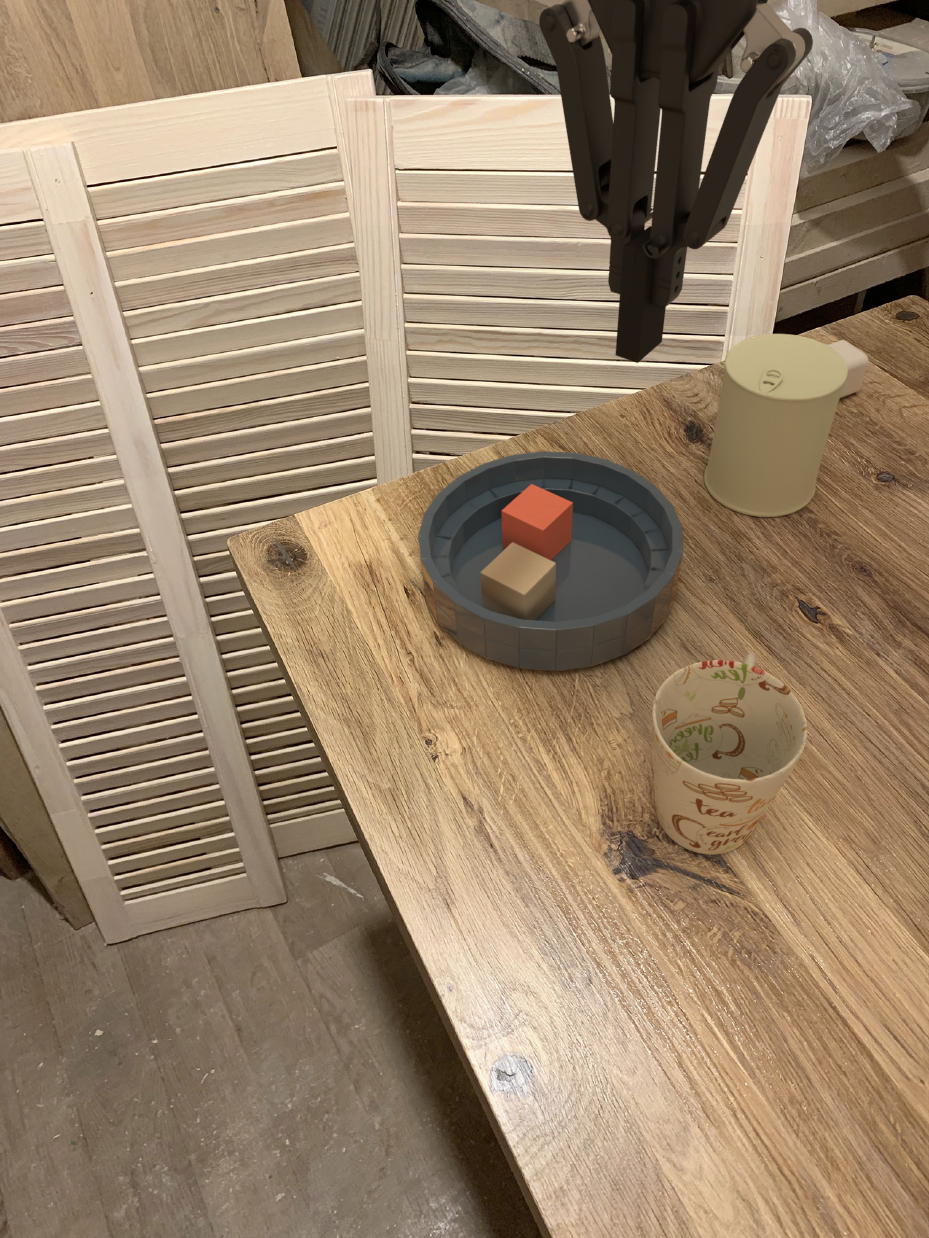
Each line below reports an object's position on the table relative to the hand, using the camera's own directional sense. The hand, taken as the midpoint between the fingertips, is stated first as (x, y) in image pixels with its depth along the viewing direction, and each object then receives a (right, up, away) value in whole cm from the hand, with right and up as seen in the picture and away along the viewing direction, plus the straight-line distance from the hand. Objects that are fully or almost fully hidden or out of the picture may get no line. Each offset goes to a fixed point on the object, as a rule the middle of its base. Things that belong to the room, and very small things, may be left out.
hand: (638, 348), depth 54 cm
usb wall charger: (+23, +5, +34) cm, 42 cm away
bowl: (-4, -13, +19) cm, 23 cm away
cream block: (-6, -15, +17) cm, 23 cm away
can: (+15, -4, +26) cm, 30 cm away
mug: (+6, -27, +6) cm, 28 cm away
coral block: (-4, -10, +21) cm, 24 cm away
